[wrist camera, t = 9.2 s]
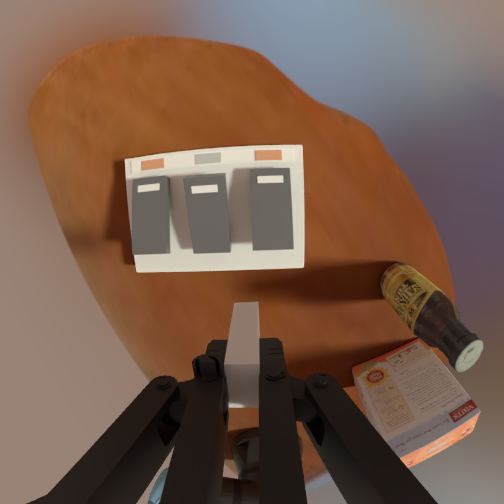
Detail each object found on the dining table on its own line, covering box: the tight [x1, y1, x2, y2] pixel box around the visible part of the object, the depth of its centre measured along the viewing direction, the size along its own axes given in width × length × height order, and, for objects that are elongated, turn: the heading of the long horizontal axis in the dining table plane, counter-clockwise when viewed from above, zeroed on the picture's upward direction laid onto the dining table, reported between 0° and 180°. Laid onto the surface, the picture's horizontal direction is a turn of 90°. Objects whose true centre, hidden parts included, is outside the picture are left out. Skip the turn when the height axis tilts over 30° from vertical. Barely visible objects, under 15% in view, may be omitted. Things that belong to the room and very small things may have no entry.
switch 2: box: [250, 168, 294, 251], centre depth 30 cm, size 9×4×2 cm, turn 2°
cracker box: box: [352, 338, 480, 468], centre depth 32 cm, size 14×6×21 cm, turn 110°
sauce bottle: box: [380, 263, 483, 372], centre depth 28 cm, size 7×6×20 cm
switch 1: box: [132, 175, 171, 255], centre depth 31 cm, size 9×4×2 cm, turn 2°
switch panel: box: [125, 145, 304, 272], centre depth 33 cm, size 15×22×4 cm
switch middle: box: [183, 173, 232, 254], centre depth 30 cm, size 9×4×2 cm, turn 3°
